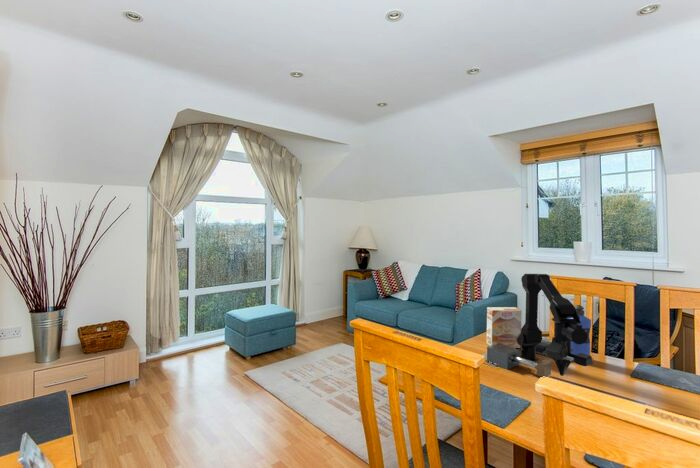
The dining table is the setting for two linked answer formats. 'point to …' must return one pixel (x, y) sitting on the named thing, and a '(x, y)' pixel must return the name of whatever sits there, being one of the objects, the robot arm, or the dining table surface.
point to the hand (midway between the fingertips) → (562, 375)
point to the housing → (502, 355)
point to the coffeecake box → (503, 326)
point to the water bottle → (586, 326)
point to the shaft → (535, 365)
